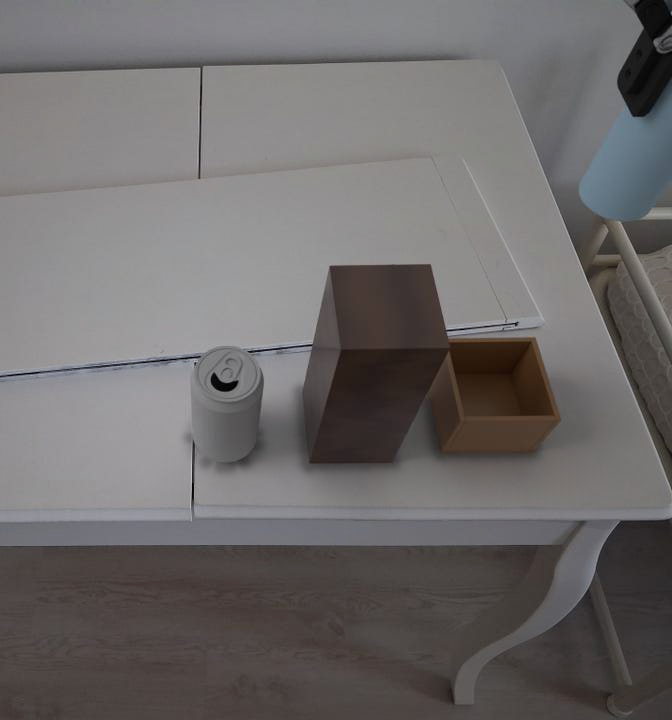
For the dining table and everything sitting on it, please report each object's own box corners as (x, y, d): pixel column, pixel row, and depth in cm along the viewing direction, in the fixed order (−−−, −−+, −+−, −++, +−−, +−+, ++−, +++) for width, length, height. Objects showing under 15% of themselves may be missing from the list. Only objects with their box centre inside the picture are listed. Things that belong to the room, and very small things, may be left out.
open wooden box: (511, 372, 75) (535, 336, 69) (534, 451, 70) (561, 420, 64) (424, 373, 75) (441, 338, 69) (440, 452, 70) (460, 421, 64)
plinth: (380, 391, 74) (430, 263, 57) (392, 462, 69) (450, 348, 53) (302, 392, 74) (329, 265, 57) (309, 463, 70) (340, 349, 53)
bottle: (652, 181, 48) (782, -7, 37) (650, 229, 46) (789, 44, 35) (580, 165, 49) (687, -22, 38) (575, 212, 47) (687, 27, 36)
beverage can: (182, 452, 70) (178, 391, 60) (206, 399, 74) (206, 332, 64) (244, 475, 69) (250, 415, 59) (265, 419, 72) (275, 354, 62)
